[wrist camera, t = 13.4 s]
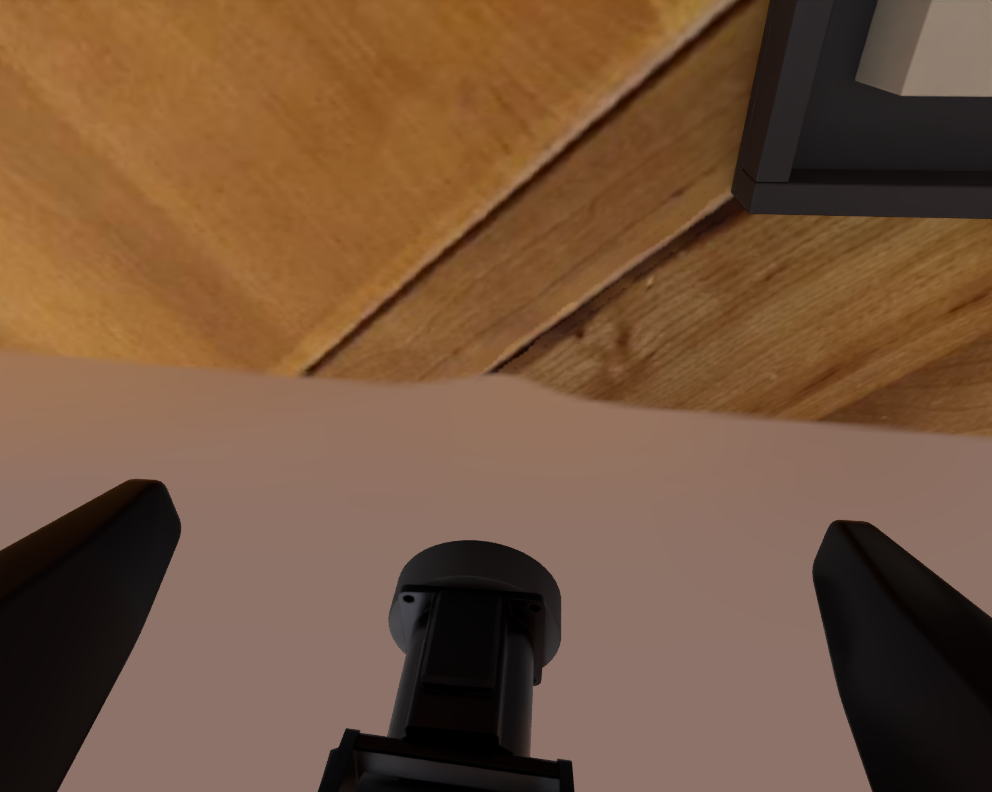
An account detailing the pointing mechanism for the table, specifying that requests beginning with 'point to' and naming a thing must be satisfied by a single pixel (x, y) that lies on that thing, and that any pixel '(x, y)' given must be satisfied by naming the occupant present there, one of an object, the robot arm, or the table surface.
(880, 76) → the loose pad
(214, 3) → the table surface
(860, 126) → the tray
